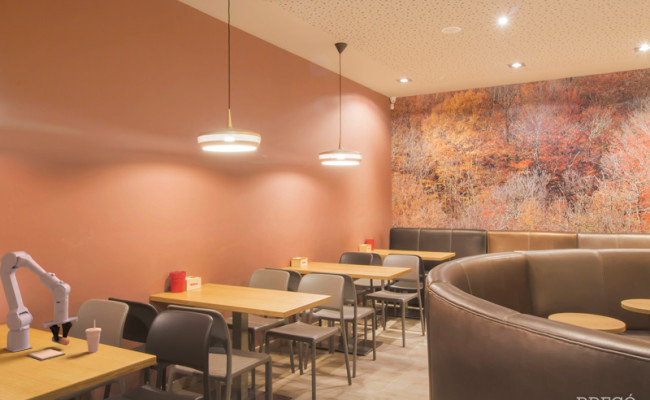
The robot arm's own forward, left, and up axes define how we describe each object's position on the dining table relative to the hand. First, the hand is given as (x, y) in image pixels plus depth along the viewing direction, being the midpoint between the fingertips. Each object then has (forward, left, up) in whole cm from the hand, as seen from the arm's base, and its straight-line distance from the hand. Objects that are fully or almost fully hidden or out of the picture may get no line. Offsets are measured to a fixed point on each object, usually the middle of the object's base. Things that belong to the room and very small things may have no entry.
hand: (60, 340), depth 206 cm
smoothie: (+18, +5, -4) cm, 19 cm away
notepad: (+6, -9, -3) cm, 11 cm away
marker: (0, 0, -2) cm, 2 cm away
